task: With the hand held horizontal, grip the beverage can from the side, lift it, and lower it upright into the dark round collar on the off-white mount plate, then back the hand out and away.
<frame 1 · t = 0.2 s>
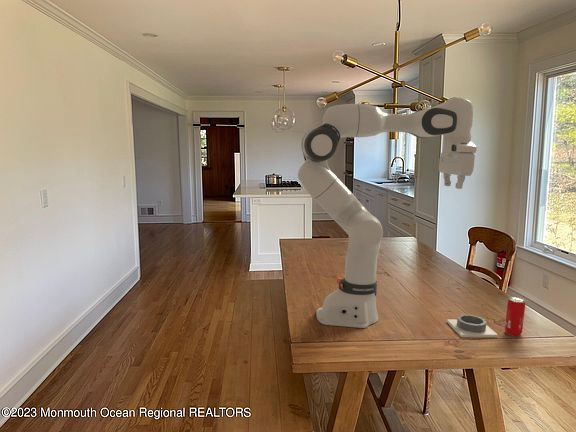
hand: (452, 187, 146), 48 cm above the table, tool pointing down, fingers open, 8 cm apart
beverage can: (513, 334, 142), on the table
mount: (471, 329, 145), on the table
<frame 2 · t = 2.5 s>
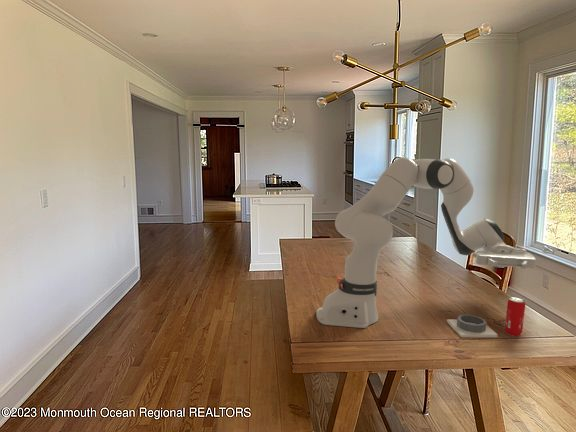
hand: (509, 265, 150), 20 cm above the table, tool horizontal, fingers open, 8 cm apart
nothing on the table moved.
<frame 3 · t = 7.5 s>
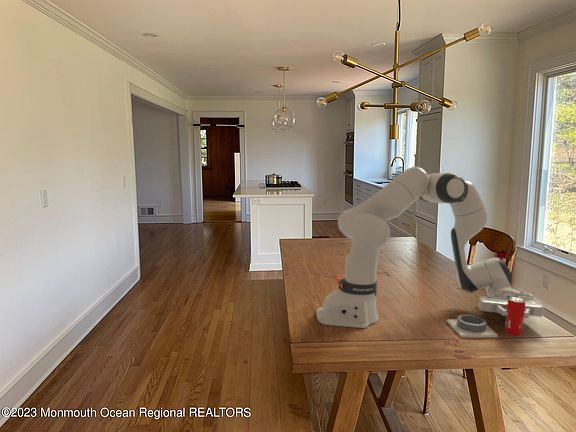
hand: (515, 314, 140), 7 cm above the table, tool horizontal, fingers closed on beverage can, 5 cm apart
beverage can: (513, 333, 142), on the table, touching gripper
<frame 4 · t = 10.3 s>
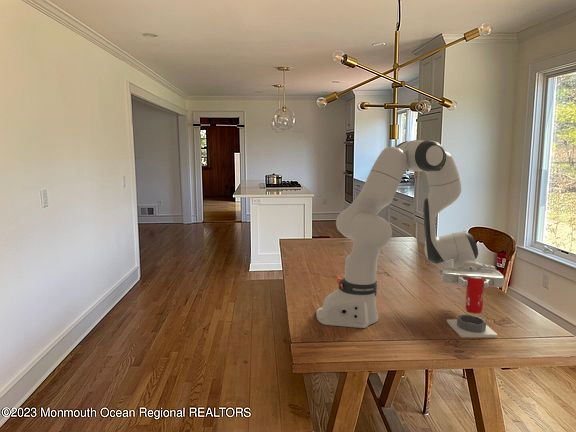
hand: (475, 284, 141), 16 cm above the table, tool horizontal, fingers closed on beverage can, 5 cm apart
beverage can: (473, 312, 143), point 6 cm above the table, touching gripper
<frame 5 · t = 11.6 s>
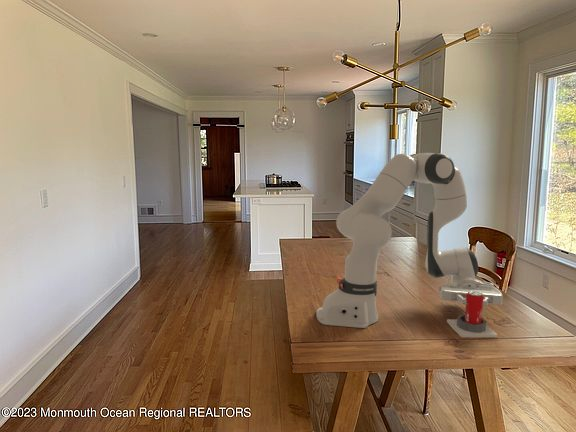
hand: (474, 303, 142), 10 cm above the table, tool horizontal, fingers closed on beverage can, 5 cm apart
beverage can: (472, 327, 144), point 1 cm above the table, touching gripper, mount
when the fingers open (9 cm above the table, at t = 12.7 s): beverage can stays where it is, resting on mount.
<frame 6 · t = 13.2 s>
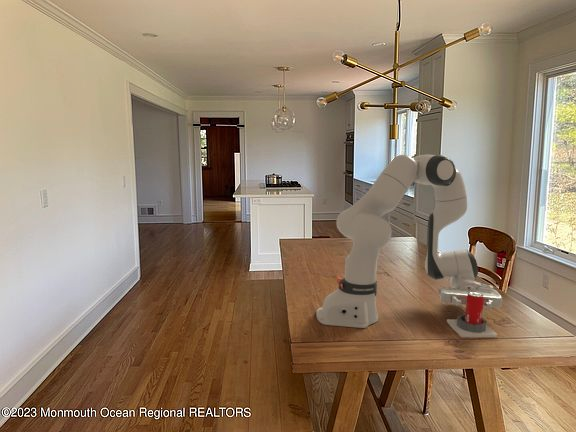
hand: (473, 305, 142), 9 cm above the table, tool horizontal, fingers open, 8 cm apart
beverage can: (472, 328, 144), point 1 cm above the table, touching mount
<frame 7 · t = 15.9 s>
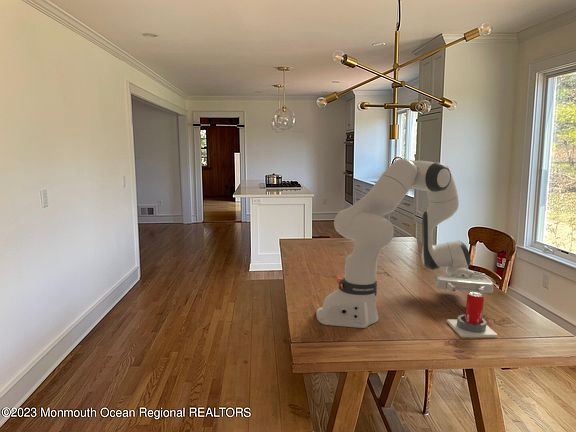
hand: (467, 290, 154), 10 cm above the table, tool horizontal, fingers open, 8 cm apart
nothing on the table moved.
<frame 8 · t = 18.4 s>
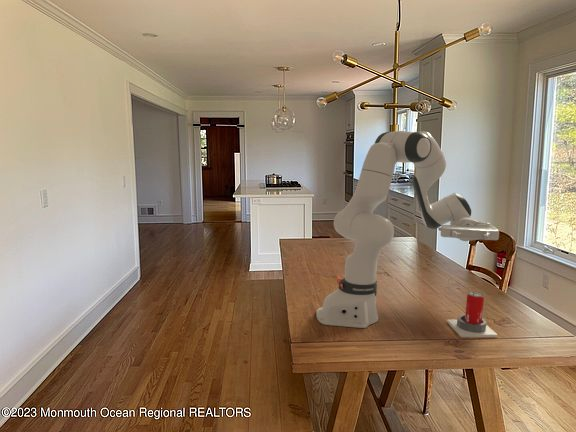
hand: (472, 236, 151), 30 cm above the table, tool horizontal, fingers open, 8 cm apart
nothing on the table moved.
at the end: beverage can 0.7 cm off-centre on the mount, point 0.8 cm above the mount's base; beverage can tilted 0°; the gripper is holding nothing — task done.
